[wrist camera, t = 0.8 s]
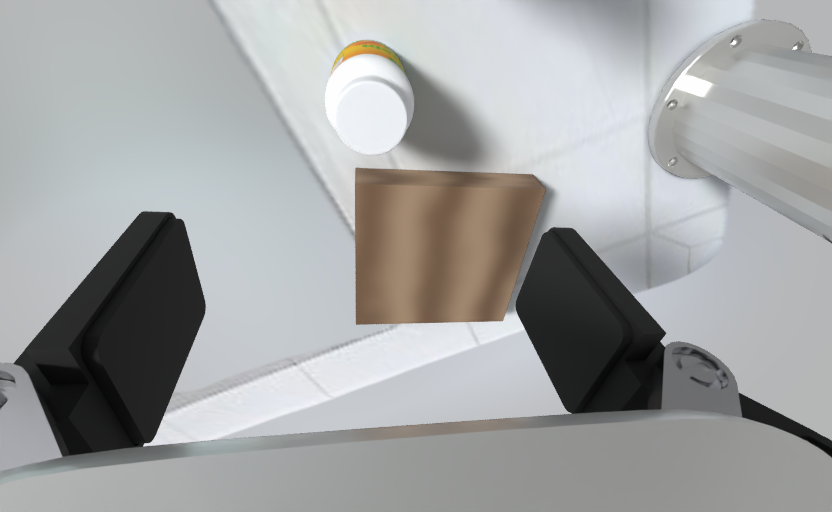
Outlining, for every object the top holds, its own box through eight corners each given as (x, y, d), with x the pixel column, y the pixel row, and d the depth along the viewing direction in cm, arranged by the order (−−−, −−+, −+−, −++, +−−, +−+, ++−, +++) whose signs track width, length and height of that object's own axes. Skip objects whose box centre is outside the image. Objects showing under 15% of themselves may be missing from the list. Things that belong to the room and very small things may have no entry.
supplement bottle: (418, 65, 28) (440, 100, 20) (383, 129, 30) (391, 182, 22) (351, 21, 26) (346, 42, 18) (320, 94, 28) (304, 140, 20)
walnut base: (533, 174, 34) (545, 189, 32) (495, 302, 44) (502, 321, 41) (355, 168, 32) (355, 183, 29) (356, 304, 41) (355, 324, 39)
